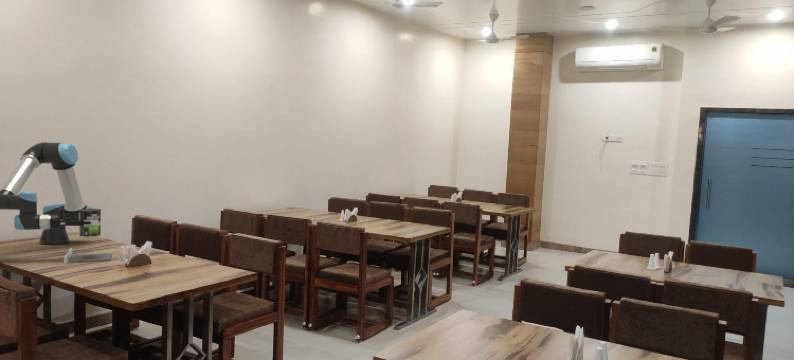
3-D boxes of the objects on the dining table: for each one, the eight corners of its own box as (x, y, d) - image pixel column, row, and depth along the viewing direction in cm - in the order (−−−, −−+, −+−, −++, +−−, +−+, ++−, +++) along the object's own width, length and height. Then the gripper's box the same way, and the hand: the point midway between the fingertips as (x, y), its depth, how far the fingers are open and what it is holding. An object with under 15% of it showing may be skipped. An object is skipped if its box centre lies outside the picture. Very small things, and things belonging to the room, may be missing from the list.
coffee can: (104, 236, 306) (104, 209, 306) (84, 238, 298) (84, 211, 297) (95, 234, 313) (95, 207, 312) (75, 236, 305) (75, 209, 304)
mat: (74, 255, 312) (74, 254, 312) (111, 254, 319) (111, 253, 319) (70, 262, 295) (70, 261, 295) (109, 260, 302) (109, 259, 302)
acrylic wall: (70, 254, 314) (70, 248, 313) (72, 254, 314) (72, 248, 314) (64, 264, 292) (64, 257, 291) (66, 264, 292) (66, 257, 292)
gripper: (54, 225, 309) (100, 224, 317) (46, 232, 288) (97, 231, 296) (54, 211, 308) (100, 211, 317) (46, 217, 287) (97, 216, 296)
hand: (99, 220), depth 307 cm, fingers closed on coffee can, 10 cm apart
